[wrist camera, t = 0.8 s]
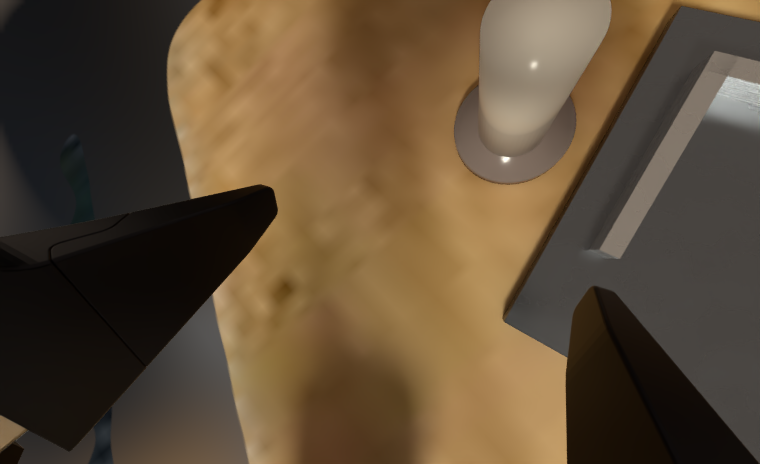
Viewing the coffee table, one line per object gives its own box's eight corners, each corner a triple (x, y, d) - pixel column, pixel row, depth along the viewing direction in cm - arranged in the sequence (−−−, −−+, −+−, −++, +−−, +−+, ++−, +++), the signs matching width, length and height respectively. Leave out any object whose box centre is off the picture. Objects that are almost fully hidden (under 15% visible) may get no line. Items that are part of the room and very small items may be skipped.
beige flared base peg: (577, 176, 19) (686, 97, 9) (460, 191, 21) (446, 140, 11) (563, 67, 19) (651, -115, 10) (450, 92, 21) (430, -36, 12)
